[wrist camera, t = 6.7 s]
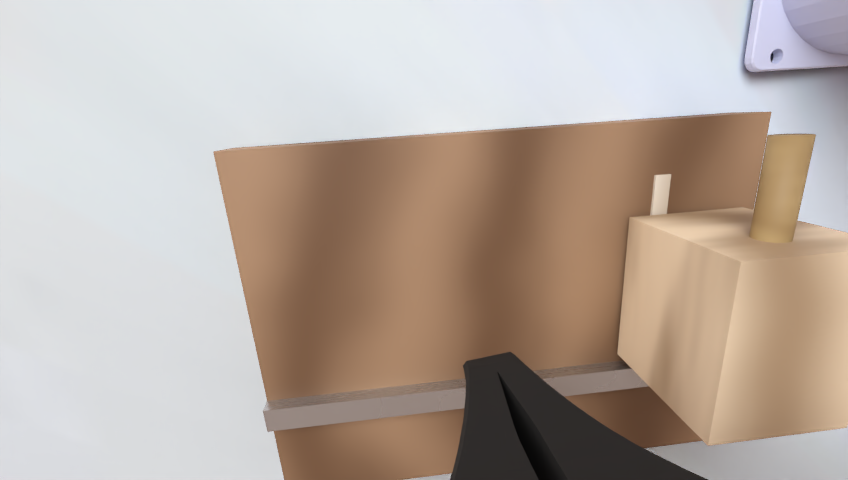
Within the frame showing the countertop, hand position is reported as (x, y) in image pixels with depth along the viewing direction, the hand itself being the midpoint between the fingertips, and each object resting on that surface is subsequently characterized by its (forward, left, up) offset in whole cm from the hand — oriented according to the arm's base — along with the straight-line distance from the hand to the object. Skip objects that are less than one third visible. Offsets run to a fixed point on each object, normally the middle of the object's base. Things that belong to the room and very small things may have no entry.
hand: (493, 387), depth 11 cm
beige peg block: (-9, -1, -5) cm, 10 cm away
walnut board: (-2, +1, -7) cm, 7 cm away
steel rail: (-2, +4, -5) cm, 7 cm away
